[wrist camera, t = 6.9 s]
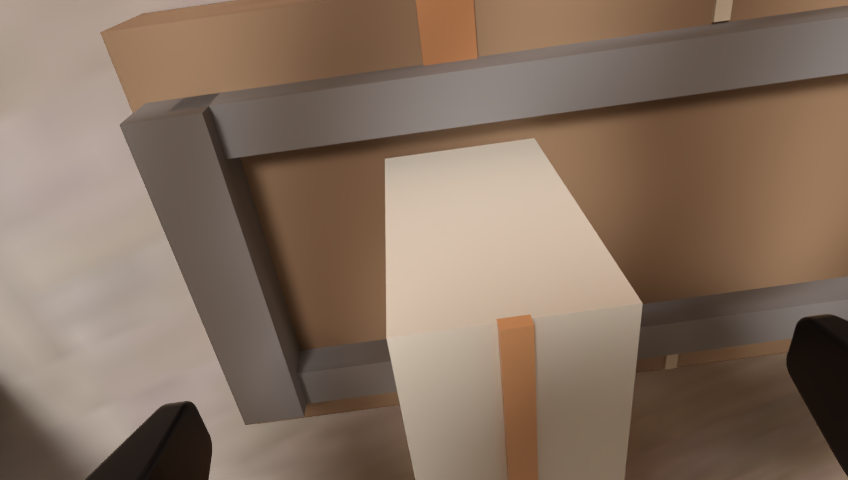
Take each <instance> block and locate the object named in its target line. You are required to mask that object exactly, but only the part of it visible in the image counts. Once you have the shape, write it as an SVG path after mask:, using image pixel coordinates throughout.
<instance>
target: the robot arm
mask: <svg viewBox="0 0 848 480" xmlns="http://www.w3.org/2000/svg"><path fill="white" fill-rule="evenodd" d="M787 369H788V372H789V374H790V377H791V378H792V380H793V382H794V384H795V386H796V387H797V389H798V391H799V393H800V394H801V396H802V398H803V400H804V402H805V403H806V405H807V407H808V409H809V411H810V412H811V414H812V416H813V418H814V420H815V421H816V423H817V425H818V427H819V429H820V430H821V432H822V434H823V436H824V438H825V439H826V441H827V443H828V445H829V446H830V448H831V450H832V452H833V454H834V455H835V457H836V459H837V460H838V462H839V464H840V465H841V467H842V469H843V470H844V472H845V473H846V475H847V476H848V321H847V320H845V319H843V318H840V317H838V316H835V315H831V314H823V315H815V316H808V317H803V318H801V319H800V320H799V321H798V322H797V324H796V327H795V330H794V333H793V337H792V340H791V344H790V347H789V351H788V354H787ZM211 457H212V442H211V438H210V435H209V433H208V431H207V429H206V427H205V424H204V422H203V420H202V418H201V416H200V414H199V412H198V410H197V408H196V406H195V405H194V404H193V403H192V402H189V401H184V402H177V403H170V404H165V405H163V406H161V407H160V408H159V409H157V410H156V411H155V412H154V413H153V414H152V415H151V416H150V417H149V418H148V419H147V420H146V421H145V422H144V423H143V424H142V425H141V426H140V427H139V428H138V429H137V430H136V431H135V432H134V433H133V434H132V435H131V436H130V437H129V438H127V439H126V440H125V441H124V442H123V443H122V444H121V445H120V446H119V447H118V448H117V449H116V450H115V451H114V452H113V453H112V454H111V455H110V456H109V457H108V458H107V459H106V460H105V461H104V462H103V463H102V464H101V465H100V466H99V467H98V468H97V469H95V470H94V471H93V472H92V473H91V474H90V475H89V476H88V477H87V478H86V479H85V480H208V479H209V471H210V464H211Z"/></svg>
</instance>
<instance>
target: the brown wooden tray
mask: <svg viewBox="0 0 848 480" xmlns="http://www.w3.org/2000/svg"><path fill="white" fill-rule="evenodd" d="M100 33H101V35H102V38H103V40H104V43H105V45H106V48H107V50H108V53H109V55H110V58H111V60H112V63H113V65H114V68H115V70H116V73H117V75H118V78H119V80H120V82H121V85H122V87H123V90H124V92H125V95H126V97H127V100H128V102H129V105H130V107H131V110H132V112H133V114H132V115H131V116H129V117H128V118H127V119H126V120H125V121H123V122H122V123H121V124H120V127H121V129H122V132H123V134H124V137H125V139H126V141H127V144H128V146H129V148H130V151H131V153H132V156H133V158H134V160H135V163H136V165H137V168H138V170H139V172H140V175H141V177H142V179H143V182H144V184H145V187H146V189H147V191H148V194H149V196H150V199H151V201H152V203H153V206H154V208H155V210H156V213H157V215H158V218H159V220H160V222H161V225H162V227H163V230H164V232H165V234H166V237H167V239H168V241H169V244H170V246H171V249H172V251H173V253H174V256H175V258H176V261H177V263H178V265H179V268H180V270H181V272H182V275H183V277H184V280H185V282H186V284H187V287H188V289H189V292H190V294H191V296H192V299H193V301H194V303H195V306H196V308H197V311H198V313H199V315H200V318H201V320H202V323H203V325H204V327H205V330H206V332H207V334H208V337H209V339H210V342H211V344H212V346H213V349H214V351H215V354H216V356H217V358H218V361H219V363H220V365H221V368H222V370H223V373H224V375H225V377H226V380H227V382H228V385H229V387H230V389H231V392H232V394H233V396H234V399H235V401H236V404H237V406H238V408H239V411H240V413H241V416H242V418H243V420H244V423H245V425H249V424H256V423H258V424H260V423H267V422H275V421H282V420H290V419H297V418H304V417H312V416H319V415H327V414H334V413H342V412H349V411H356V410H364V409H371V408H379V407H386V406H393V405H400V402H399V397H398V393H397V388H396V383H395V378H394V373H393V368H392V363H391V358H390V353H389V348H388V344H387V339H386V238H385V159H387V158H394V157H401V156H408V155H416V154H423V153H430V152H437V151H444V150H452V149H459V148H466V147H473V146H481V145H488V144H495V143H502V142H510V141H517V140H524V139H531V138H535V140H536V142H537V143H538V145H539V146H540V148H541V149H542V151H543V152H544V154H545V155H546V157H547V158H548V160H549V161H550V163H551V164H552V166H553V167H554V169H555V170H556V172H557V174H558V175H559V177H560V178H561V180H562V181H563V183H564V184H565V186H566V187H567V189H568V190H569V192H570V193H571V195H572V196H573V198H574V199H575V201H576V202H577V204H578V206H579V207H580V209H581V210H582V212H583V213H584V215H585V216H586V218H587V219H588V221H589V222H590V224H591V225H592V227H593V228H594V230H595V231H596V233H597V234H598V236H599V238H600V239H601V241H602V242H603V244H604V245H605V247H606V248H607V250H608V251H609V253H610V254H611V256H612V257H613V259H614V260H615V262H616V263H617V265H618V266H619V268H620V270H621V271H622V273H623V274H624V276H625V277H626V279H627V280H628V282H629V283H630V285H631V286H632V288H633V289H634V291H635V292H636V294H637V295H638V297H639V298H640V300H641V302H642V303H643V305H642V315H641V324H640V334H639V344H638V353H637V363H636V373H638V372H646V371H653V370H661V369H665V370H668V369H675V368H676V367H683V366H690V365H698V364H705V363H713V362H720V361H728V360H735V359H742V358H750V357H757V356H765V355H772V354H779V353H787V352H788V351H789V347H790V344H791V340H792V337H793V333H794V330H795V327H796V324H797V322H798V321H799V320H800V319H801V318H803V317H808V316H815V315H823V314H831V315H835V316H838V317H840V318H843V319H845V320H847V321H848V0H236V1H229V2H222V3H215V4H208V5H201V6H193V7H186V8H179V9H172V10H165V11H158V12H151V13H144V14H141V15H139V16H136V17H134V18H132V19H130V20H127V21H125V22H123V23H121V24H118V25H116V26H114V27H112V28H109V29H107V30H105V31H103V32H100Z"/></svg>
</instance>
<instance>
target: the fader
mask: <svg viewBox="0 0 848 480" xmlns="http://www.w3.org/2000/svg"><path fill="white" fill-rule="evenodd" d="M385 238H386V339H387V344H388V348H389V353H390V358H391V363H392V368H393V373H394V378H395V383H396V388H397V393H398V397H399V402H400V407H401V412H402V417H403V422H404V427H405V432H406V437H407V442H408V447H409V451H410V456H411V461H412V466H413V471H414V476H415V480H625V470H626V460H627V450H628V441H629V431H630V421H631V412H632V402H633V392H634V383H635V373H636V363H637V353H638V344H639V334H640V324H641V315H642V305H643V303H642V302H641V300H640V298H639V297H638V295H637V294H636V292H635V291H634V289H633V288H632V286H631V285H630V283H629V282H628V280H627V279H626V277H625V276H624V274H623V273H622V271H621V270H620V268H619V266H618V265H617V263H616V262H615V260H614V259H613V257H612V256H611V254H610V253H609V251H608V250H607V248H606V247H605V245H604V244H603V242H602V241H601V239H600V238H599V236H598V234H597V233H596V231H595V230H594V228H593V227H592V225H591V224H590V222H589V221H588V219H587V218H586V216H585V215H584V213H583V212H582V210H581V209H580V207H579V206H578V204H577V202H576V201H575V199H574V198H573V196H572V195H571V193H570V192H569V190H568V189H567V187H566V186H565V184H564V183H563V181H562V180H561V178H560V177H559V175H558V174H557V172H556V170H555V169H554V167H553V166H552V164H551V163H550V161H549V160H548V158H547V157H546V155H545V154H544V152H543V151H542V149H541V148H540V146H539V145H538V143H537V142H536V140H535V138H531V139H524V140H517V141H510V142H502V143H495V144H488V145H481V146H473V147H466V148H459V149H452V150H444V151H437V152H430V153H423V154H416V155H408V156H401V157H394V158H387V159H385Z"/></svg>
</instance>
